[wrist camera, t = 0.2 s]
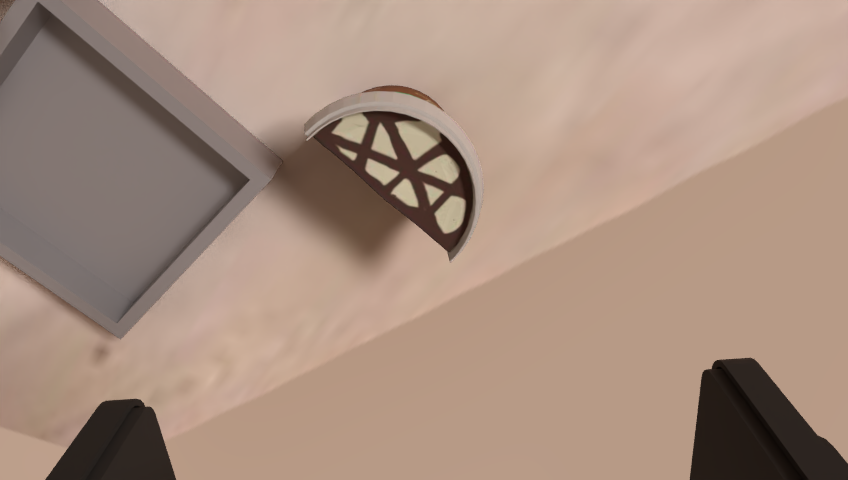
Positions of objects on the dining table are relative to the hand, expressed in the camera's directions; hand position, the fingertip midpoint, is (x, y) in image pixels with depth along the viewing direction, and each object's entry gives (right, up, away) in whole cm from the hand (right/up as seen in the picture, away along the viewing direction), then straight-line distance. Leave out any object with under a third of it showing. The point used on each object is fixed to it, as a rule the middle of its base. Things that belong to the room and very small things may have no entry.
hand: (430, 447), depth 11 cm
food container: (-1, +12, +35) cm, 37 cm away
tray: (-23, +9, +36) cm, 43 cm away
